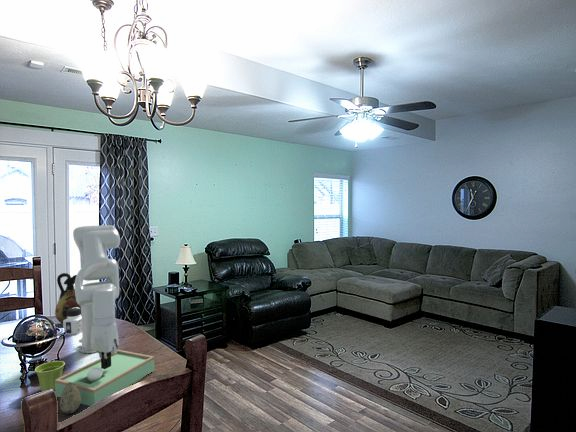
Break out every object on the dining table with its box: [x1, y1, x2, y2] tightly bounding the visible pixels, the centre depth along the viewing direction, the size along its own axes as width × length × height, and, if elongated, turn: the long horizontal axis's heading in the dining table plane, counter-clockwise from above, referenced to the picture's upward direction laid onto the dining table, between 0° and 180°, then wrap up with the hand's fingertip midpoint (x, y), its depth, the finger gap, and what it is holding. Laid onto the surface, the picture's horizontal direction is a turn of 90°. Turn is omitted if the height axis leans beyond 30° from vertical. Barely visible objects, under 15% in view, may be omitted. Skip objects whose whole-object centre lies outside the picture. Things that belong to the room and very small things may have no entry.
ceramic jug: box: [54, 272, 82, 327], centre depth 208 cm, size 17×15×30 cm
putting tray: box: [54, 349, 156, 407], centre depth 138 cm, size 20×28×6 cm
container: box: [62, 307, 82, 335], centre depth 195 cm, size 8×8×13 cm
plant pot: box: [34, 360, 66, 392], centre depth 135 cm, size 9×9×9 cm
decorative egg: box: [59, 383, 81, 415], centre depth 119 cm, size 6×6×10 cm
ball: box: [87, 367, 102, 382], centre depth 133 cm, size 5×5×5 cm
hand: (106, 367), depth 138 cm, fingers closed
